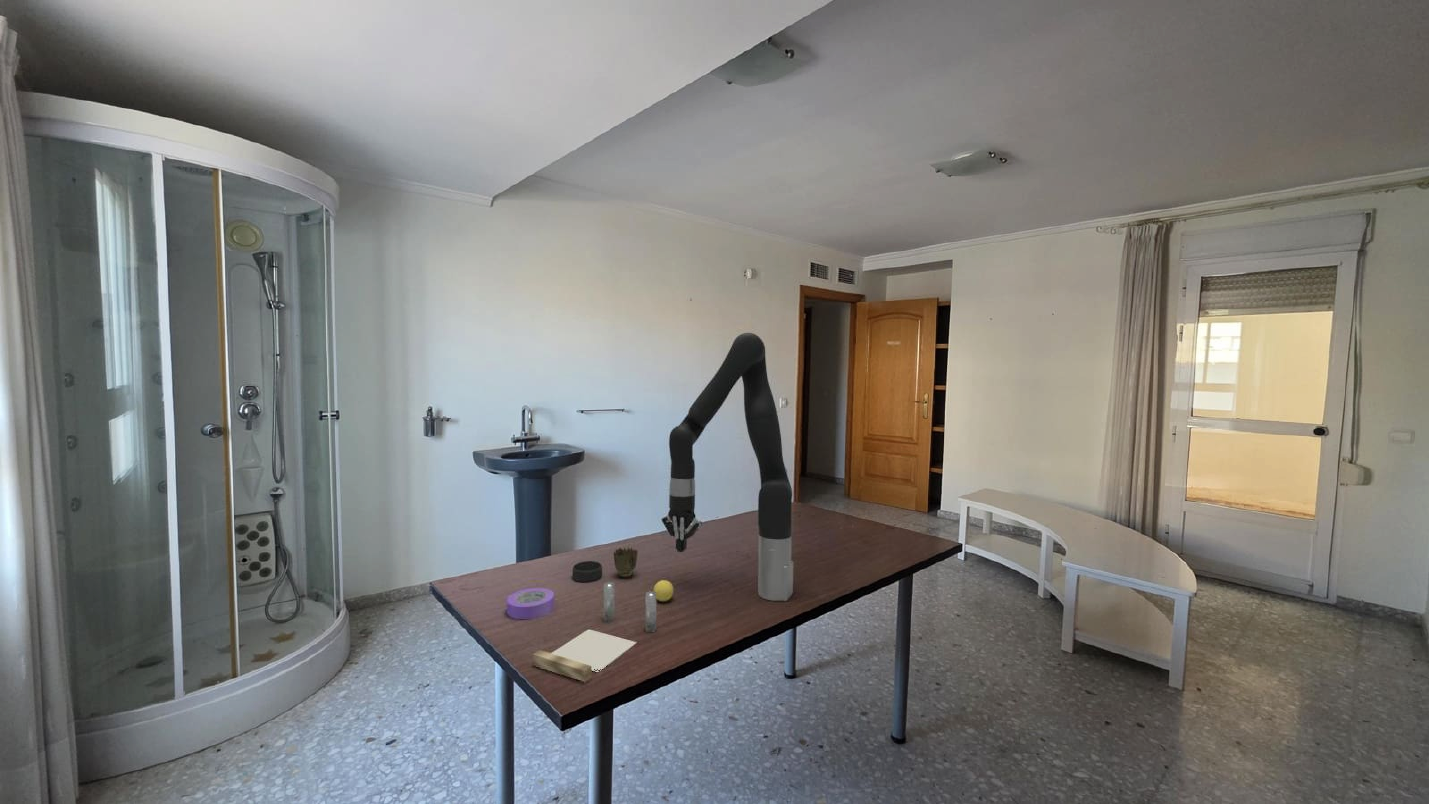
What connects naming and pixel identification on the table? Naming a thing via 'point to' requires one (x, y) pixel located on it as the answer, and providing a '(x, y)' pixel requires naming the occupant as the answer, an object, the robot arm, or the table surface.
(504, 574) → the table surface
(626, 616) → the table surface
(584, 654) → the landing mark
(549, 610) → the masking tape
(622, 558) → the cup
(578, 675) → the strip
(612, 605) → the post left
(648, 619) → the post right
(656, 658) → the table surface
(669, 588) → the ball
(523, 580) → the table surface
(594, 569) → the smart speaker
